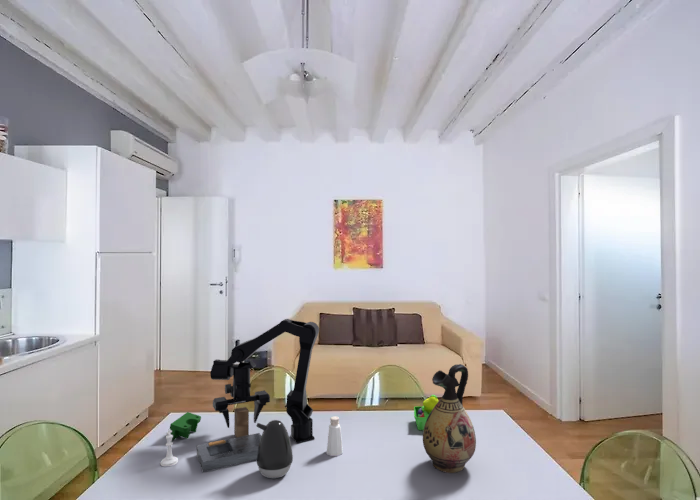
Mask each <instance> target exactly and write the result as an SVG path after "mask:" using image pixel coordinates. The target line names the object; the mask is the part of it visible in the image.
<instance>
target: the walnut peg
mask: <svg viewBox="0 0 700 500" xmlns="http://www.w3.org/2000/svg"><path fill="white" fill-rule="evenodd" d="M233 411H234V419H233V420H234V421H233V422H234V426H233V427H234V431H233V432H234V434H233V435H234V436H235V438H237V437H242V436H246V435H250V433H249V430H250V429H249V426H250V422H249V421H250V413H249V412H250V411H249V409H248V407H247V406H243V407H237V408H234V410H233Z"/></svg>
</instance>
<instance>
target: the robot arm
mask: <svg viewBox="0 0 700 500" xmlns="http://www.w3.org/2000/svg"><path fill="white" fill-rule="evenodd" d="M319 332H320V328H319V325H318V324H317V323H316V322H315V321H309V322H305V321H300V320H299V321H298V320H293V319H291V318H284V319H282V320H281V321H280V322H279V323H278V324H276V325H274V326H273V327H271V328H269V329H267V331H265V332H262V334H260V335H258V336H256V337H254V338H252V339H248V340H246V341H243V342H241V343H239V344H238V345H236V346H234V347H233V348H232V349H231V352H230V356H229V357H228V359H214V360H212V361H213V362H212V363H213V364H212V366H211V368H210V375H209V376H210V379H211V380H212V381H216V380H217V381H228V380H230V379H231V378H232V377H233V379H232V384H231V383H226V384H225V385H224V393H225V395H226V394H227V395H228V394H230V396H231V398H228V399H227V398H226V397H225V396H220V397H215V398H213V400H212V407H213V409H214V411H215V412H218V413H219V414H222V415H223V418H224V420H225V421H224V422H225V424H226V428H228V429H230V413H229V412H230V410H229V409H228V407H229V406H231V405H238V404H245V403H250V402H253V404H254V408H253V423H254V424H256V423H257V421H258V418H259V416H260V413H261V412H262V410H263V408H264V406H267V403H270V402H271V395H270V394H269V393H268V392H267V391H266V390H259V391H255V392H254V395H251V387H252V385H251V384H252V383H251V369H254V368H255V367H256V366H257V363H255V362H254V361H253V360H252V359H250V360H249V361H246V360H247V359H248V358H251V356H252V355H253V354H254V353H256V352H257V351H258V350H259V349H260V348H261V347H263V346H265V345H266V344H267V343H269V342H271V341H272V340H274V339H276V338H278V337H279V336H280V335H282V334H284V333H288V334H290V335H291V336H295V337H298V339H299V340H298V343H299V348H300V350H299V356H298V361H297V362H298V363H297V366H296V367H297V368H296V373H295V378H294V379H295V380H294V386H293V389H290V390H289V392H288V393H287V395H286V403H285V406H284V408H285V409H286V414H287V415H288V416H289V417H290V419H291V421H292V422H291V423H292V424H291V425H290V437H291V438H292V439H293V440H294V442H295V443H303V442H306V441H307V442H308V441H311V440H315V436H314V435H313V427H314V425H313V423H314V421H313V420H314V419H313V418H312V417H311V416H312V415H313V412H314V409H313V408H312V407H311V406H310V405H309V404H308V403H307V402H308V398H307V397H308V395H307V382H308V377H309V371H310V366H311V365H310V364H311V358H312V353H313V349H314V346H315V343H316V341H317V339H318V335H319ZM237 363H238V364H237Z"/></svg>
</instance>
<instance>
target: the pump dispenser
mask: <svg viewBox="0 0 700 500" xmlns="http://www.w3.org/2000/svg"><path fill="white" fill-rule="evenodd" d="M256 423H257V424H256V427H257V428H258V429H260V430H263V431H262V434H261V439H260V442H259V447H258V453H257V460H256V464H257V467H258V471H259V472H260V474H261V475H262V476H264V477H265V478H267V479H278V478H282V477H283V476H284V475H286V474H287V473H288V472H289V470H290V469H291V467H292V463H293V459H294V458H293V457H294V455H293V447H292V442H291V439H290V436H289V433H288V430H287V427H286V426H285V424H284V423H283V422H282V421H281V420H279V419H273V420H270V421H268V423H267V424H263V423H259V422H256Z"/></svg>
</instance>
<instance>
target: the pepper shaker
mask: <svg viewBox="0 0 700 500" xmlns="http://www.w3.org/2000/svg"><path fill="white" fill-rule="evenodd" d="M329 420H330V424H329V426H328V433H327V434H328V435H327V444H326V445H327V446H326V455H328V456H330V457H338V456H341V455H343V451H344V450H343V449H344V448H343V440H342V439H343V438H342V428H341V424H340V418H339V416H335V415H334V416H331V417H330V418H329Z"/></svg>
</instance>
